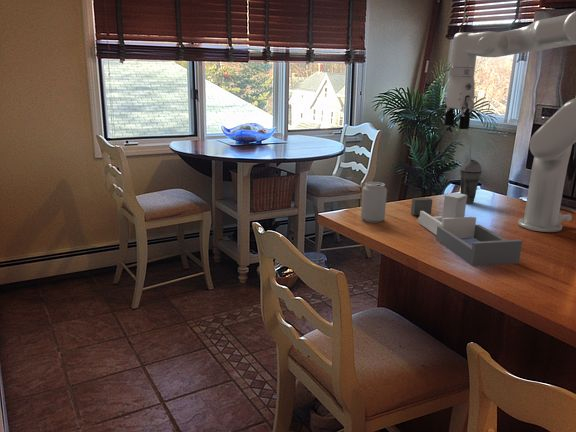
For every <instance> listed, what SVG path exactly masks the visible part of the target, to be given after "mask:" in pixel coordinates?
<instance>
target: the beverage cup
mask: <svg viewBox="0 0 576 432" xmlns="http://www.w3.org/2000/svg"><path fill="white" fill-rule="evenodd" d="M468 149H469V155H468V156H469V157H468V158H469V159H467V160H465V161H464V162H463V163H462V165H461V167H460V170H459V171H460V172H459V173H460V194H465V195H467V200H466V205H471V204H474V202H475V199H476V194H477V189H478V184H479V179H480V177H481V174H482V167H481V166H482V165H481V164H480V163H479V162H478V161H477V160H475V159H472V147H471V146H469V148H468Z"/></svg>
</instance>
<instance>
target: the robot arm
mask: <svg viewBox="0 0 576 432" xmlns="http://www.w3.org/2000/svg"><path fill="white" fill-rule="evenodd" d="M452 39H453V40H452V49H451V58H450V66H449V67H450V69H449V81H448V87H447V91H446V93H447V94H446V97H445V98H444V114H445V115H444V126H454V125H455V117H456V116H455V115H456V113H455V111H456V110H458V111H459V112H460V115H461V116H459V122H458V129H459V130H469V128H470V122H471V121H470V119H471V116H472V113H473V111H474V107H475V89H476V88H475V86H476V85H475V71H476V63H477V57H481V58H501V57H506V56H512V55H519V54H524V53H528V52H529V53H531V52H538V51H539V52H540V51H544V50H550V49H554V48H555V49H557V48H562V47H567V46H573V45H576V10H574V11H573V12H571V13H568V14H564V15H559V16H553V17H549V18H542V19H538V20H535V21H533V22H532V23H531V24H528V25H526V26H523V27H520V28H516V29H511V30H505V31H504V30H503V31H499V32H498V31H491V30H490V31H489V30H488V31H480V32H465V31H464V32H457V33H455V34H454V36H453V38H452ZM529 140H530V141H529V144H528V145H529V151H530V153H531V155H533V162H532V166H531V171H530V177H529V178H530V179H529V185H528V190H527V197H526V202H525V209H524V217H521V218H519V219H518V221H517V224H518V225H519V226H520V227H522V228H525V229H527V230H530V231H535V232H542V233H556V232H560V231H562V229H563V224H562V222H563V221H566V222H567V221H568V222H571V221H572V218H573V217H572V214H562V213H560V209H561V204H562V199H563V193H564V192H563V191H564V187H565V181H566V177H567V176H566V175H567V170H568V166H569V165H568V164H569V161H570V157H571V153H572V148H573V145H574V144H575V143H576V97H574V98H572V99H570V100H568V101H567V102H565V103H564V104H563V105H562V106H560V108H558V109H557V111H555V113H554V114H552V115H551V116H550V118H549V119H547V120H546V121H545V122H544V123H543V124H542V125H541V126H540V127H538V129H536V131H535V132H534V133H533V134H532V136H531V137H530V139H529Z"/></svg>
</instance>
